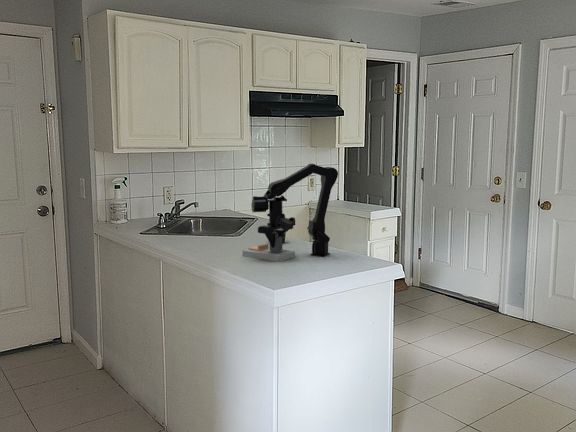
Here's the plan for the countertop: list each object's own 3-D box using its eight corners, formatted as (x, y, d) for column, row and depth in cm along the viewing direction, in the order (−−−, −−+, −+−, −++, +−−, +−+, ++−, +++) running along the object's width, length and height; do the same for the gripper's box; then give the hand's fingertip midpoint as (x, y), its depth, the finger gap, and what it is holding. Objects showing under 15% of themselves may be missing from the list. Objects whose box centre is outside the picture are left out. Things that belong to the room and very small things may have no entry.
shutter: (268, 248, 249) (268, 243, 249) (259, 251, 244) (259, 246, 244) (257, 246, 253) (257, 242, 253) (248, 249, 248) (248, 244, 247)
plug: (275, 248, 246) (275, 232, 245) (282, 250, 243) (282, 232, 242) (269, 250, 242) (269, 233, 241) (276, 251, 240) (276, 234, 239)
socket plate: (294, 256, 245) (294, 251, 244) (278, 261, 235) (278, 256, 235) (259, 251, 256) (259, 245, 256) (242, 255, 247) (242, 250, 246)
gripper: (277, 215, 228) (277, 252, 231) (303, 210, 243) (303, 245, 246) (256, 213, 235) (257, 249, 237) (282, 208, 250) (282, 242, 252)
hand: (275, 246), depth 243 cm, fingers closed on plug, 4 cm apart
